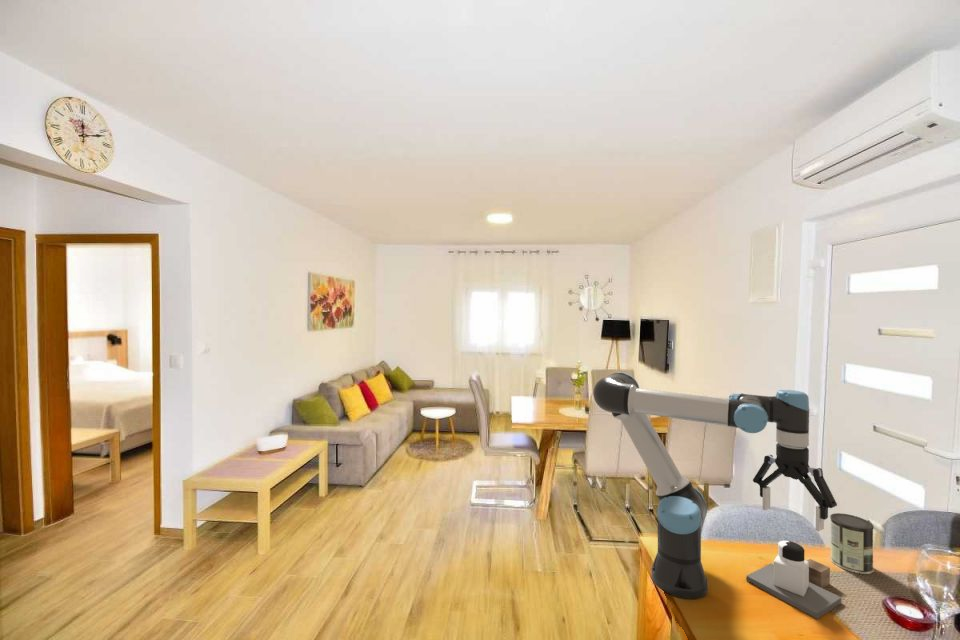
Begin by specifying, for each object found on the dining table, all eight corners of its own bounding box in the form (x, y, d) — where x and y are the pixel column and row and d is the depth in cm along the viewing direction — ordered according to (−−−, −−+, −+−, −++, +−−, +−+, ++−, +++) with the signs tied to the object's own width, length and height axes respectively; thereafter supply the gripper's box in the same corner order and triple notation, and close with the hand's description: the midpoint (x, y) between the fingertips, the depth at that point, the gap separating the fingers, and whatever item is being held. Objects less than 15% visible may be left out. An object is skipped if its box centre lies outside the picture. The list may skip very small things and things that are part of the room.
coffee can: (858, 557, 137) (859, 514, 137) (882, 576, 127) (882, 530, 127) (822, 553, 139) (822, 511, 139) (842, 572, 129) (843, 526, 129)
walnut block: (801, 579, 125) (801, 563, 125) (810, 575, 128) (810, 558, 128) (821, 589, 121) (821, 572, 121) (829, 584, 123) (829, 567, 123)
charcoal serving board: (746, 580, 125) (746, 575, 125) (770, 568, 131) (770, 563, 131) (817, 619, 109) (817, 613, 109) (841, 602, 115) (841, 597, 115)
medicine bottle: (809, 586, 120) (809, 544, 120) (804, 597, 115) (804, 554, 115) (779, 574, 125) (779, 535, 125) (773, 585, 120) (773, 544, 120)
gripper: (852, 455, 111) (852, 535, 111) (754, 432, 133) (754, 499, 133) (839, 460, 107) (838, 542, 107) (740, 435, 129) (740, 504, 129)
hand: (791, 518), depth 120 cm, fingers open, 13 cm apart
